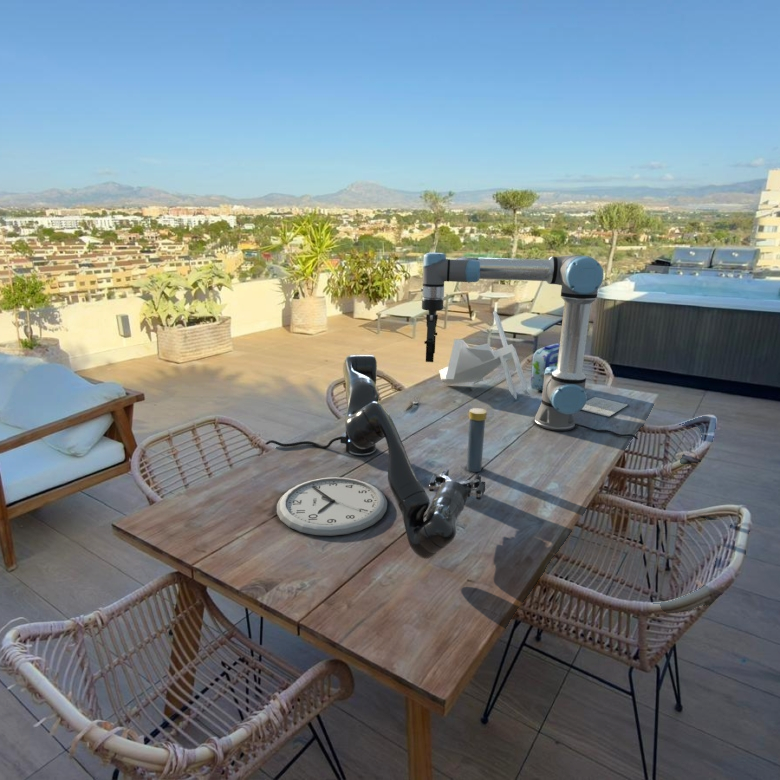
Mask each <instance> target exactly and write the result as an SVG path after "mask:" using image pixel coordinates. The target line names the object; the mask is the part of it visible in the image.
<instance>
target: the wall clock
mask: <svg viewBox="0 0 780 780" xmlns="http://www.w3.org/2000/svg"><path fill="white" fill-rule="evenodd" d="M387 509H388V500H387V498H386V496H385V494H384V493H383V492H382V491H381V490H380V489H379V488H377V487H376V486H374V485H372V484H371V483H369V482H365V481H362V480H359V479H355V478H349V477H338V476H337V477H335V476H333V477H332V476H331V477H322V478H317V479H312V480H307V481H305V482H302V483H299V484H297V485H295V486H293V487H292V488H290V489H288V490H287V491H286V492H285V493H284V494H283V495H281V496H280V498H279V499H278V502H277V503H276V515H277V517H278V518H279V520H280V521H281V522H282V523H283V524H285V525H286V526H287V527H288V528H290V529H293V530H295V531H297V532H299V533H303V534H308V535H312V536H327V537H328V536H329V537H331V536H332V537H333V536H342V535H350V534H352V533H356V532H361V531H363V530H366V529H368V528H369V527H372V526H373V525H375V524H376V523H378V522H379V521H380V520H381V519H382V518H383V517H384V516H385V514H386V512H387Z"/></svg>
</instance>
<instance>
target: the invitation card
mask: <svg viewBox="0 0 780 780" xmlns="http://www.w3.org/2000/svg"><path fill="white" fill-rule="evenodd" d="M628 406H629V404H627V403H623V402H618V401H614V400H609V399H605V398H601V397H596V396H593V397H592V398H590V399H587V401H586V404H585V406H584V407H583V408H582V409H581V410H580V411H584V412H587V413H593V414H596V415H600V416H604V417H608V418H609V417H611V416H613V415H614V414H616V413H617V412H619V411H621V410H623V409H624V408H626V407H628Z"/></svg>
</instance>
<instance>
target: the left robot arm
mask: <svg viewBox="0 0 780 780" xmlns="http://www.w3.org/2000/svg"><path fill="white" fill-rule="evenodd" d="M342 373H343V377H344V378H343V379H344V382H345V400H346V415H345V419H344V420H345V421H344V426H345V431H344V432H343V433H342V434H341V435H340V436H337V437H333V438H332V439H330V440H329V441H328V443H327V444H325V445H322V444H319V443H317V442H314V441H311V440H310V441H309V440H305V441H298V442H297V441H296V442H290V443H282V442H279V441H277V440H274V439H269V440H267V441H266V442H265V443H264V445H266V446H268V445H270V444H274V445H277V446H279V447H294V446H295V447H296V446H299V445H300V446H301V445H312V446H314V447H317V448H320V449H329V448H330V446H332V444H333V443H334V442H336V441H339V442H340V444H344V445H345V452H346V453H348V454H350V455H352V456H357V457H368V456H370V455H371V456H372V455H373V454H375V453H376V449H377V447H376V445H377V443H379V442H380V441H381V440H383V439H385V441H386V445H387V450H388V451H387V452H388V453H387V454H388V464H387V465H388V466H387V482H388V483H387V484H388V488H389V491H390V493H391V495H392V497H393V499H394V500H395V503H396V504H397V507H398V508H399V510H400V512H401V515H402V520H403V525H404V529H405V533H406V538H407V541H408V544H409V547H410V548H411V550H412V551H413V552H414V554H415V555H416V556H417V557H419V558H422V559H425V560H428V559H431V558H433V557H434V556H436V555H437V554H438V553H440V552H441V551H442V550H443V549H445V548H446V547H447V546H448V545H450V544H452V542H453V541H454V540H455V538H456V536H457V521H458V518H459V517H460V516H461V514H462V512H463V511H464V508H465V505H466V502H467V500H468V498H470V497H471V496H472V497H475V500H478V501H479V500H481V499H482V498H483V496H484V493H485V492H486V481H483V480H482V476H481V475H480V474H479V473H476V475H475V477H474V479H473V480H472V479H467V480H463V481H462V480H458V481H457V480H455V479H451V478H450V477H449V471H450V469H449V468H446V469H445V470H442V472H441V473H440V474H439V475H438V474H437V473H432V476H431V478H430V480H429V482H428V483H429V484H428V486H429V487H428V491H429V492H434V491H435V490H437V491H436V493H435V495H434V497H433V498H432V502H431V501H430V498H429V496H428V494H427V492H426V490H425V489H424V487H423V485H422V483H421V482H420V480H419V478H418V476H417V474H416V472H415V471H414V469H413V466H412V464H411V462H410V459H409V457H408V454H407V452H406V449H405V445H404V444H403V441H402V439H401V437H400V434H399V432H398V430H397V428H396V427H397V426H396V424H395V423H394V420H393V418H392V417H391V415H390V414H389V412H388V411H387V409H386V408H385V407H384V406H383V405H382V403H380V402H379V401H380V399H379V398H380V396H379V391H378V387H377V378H378V377H377V376H378V375H377V374H378V361H377V358H376V357H375V355H372V354H371V355H370V354H365V355H364V354H361V355H360V354H359V355H357V354H356V355H354V354H353V355H347V356H346V357H345V358H344V361H343V365H342ZM438 483H439V484H438ZM425 514H426V516H425ZM424 516H425V520H424Z"/></svg>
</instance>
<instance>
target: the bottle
mask: <svg viewBox="0 0 780 780" xmlns="http://www.w3.org/2000/svg"><path fill="white" fill-rule="evenodd" d="M468 426H469V427H468V441H467V456H466V458H467V459H466V470H467V471H468V472H472V473H478V472H481V471H482V469H483V468H482V467H483V465H482V464H483V453H484V442H485V441H484V438H485V429H486V427H485V426H486V419H485V420H483V421H476V420H472V419H470V418H469V425H468Z"/></svg>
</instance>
